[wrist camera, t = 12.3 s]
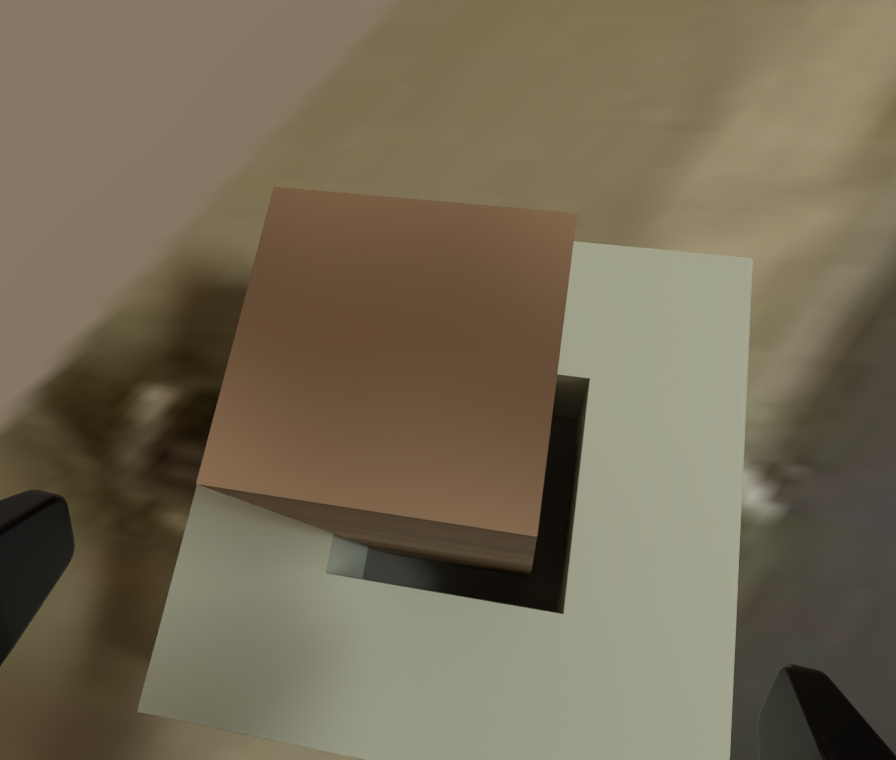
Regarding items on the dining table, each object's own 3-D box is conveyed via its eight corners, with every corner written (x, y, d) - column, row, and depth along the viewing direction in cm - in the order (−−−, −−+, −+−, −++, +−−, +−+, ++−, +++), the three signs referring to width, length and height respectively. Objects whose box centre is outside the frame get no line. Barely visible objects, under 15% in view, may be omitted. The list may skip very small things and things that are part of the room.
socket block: (676, 777, 19) (726, 835, 14) (224, 687, 21) (136, 712, 16) (705, 330, 23) (752, 258, 18) (318, 287, 25) (268, 212, 20)
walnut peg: (530, 577, 20) (537, 536, 8) (393, 554, 21) (195, 484, 8) (547, 440, 21) (577, 213, 9) (417, 422, 22) (273, 186, 9)
